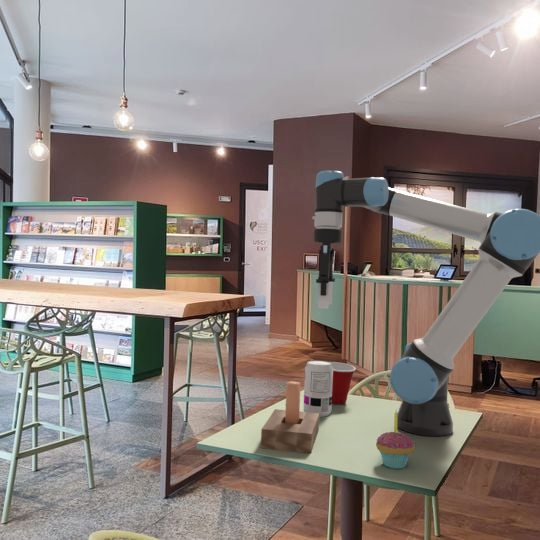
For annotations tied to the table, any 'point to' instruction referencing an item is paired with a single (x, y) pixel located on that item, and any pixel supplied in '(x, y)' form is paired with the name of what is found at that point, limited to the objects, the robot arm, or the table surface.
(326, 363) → the supplement can
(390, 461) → the cupcake
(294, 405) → the dowel pin
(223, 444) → the table surface
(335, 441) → the table surface
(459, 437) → the table surface
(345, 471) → the table surface
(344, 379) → the plastic cup
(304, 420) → the hole block
